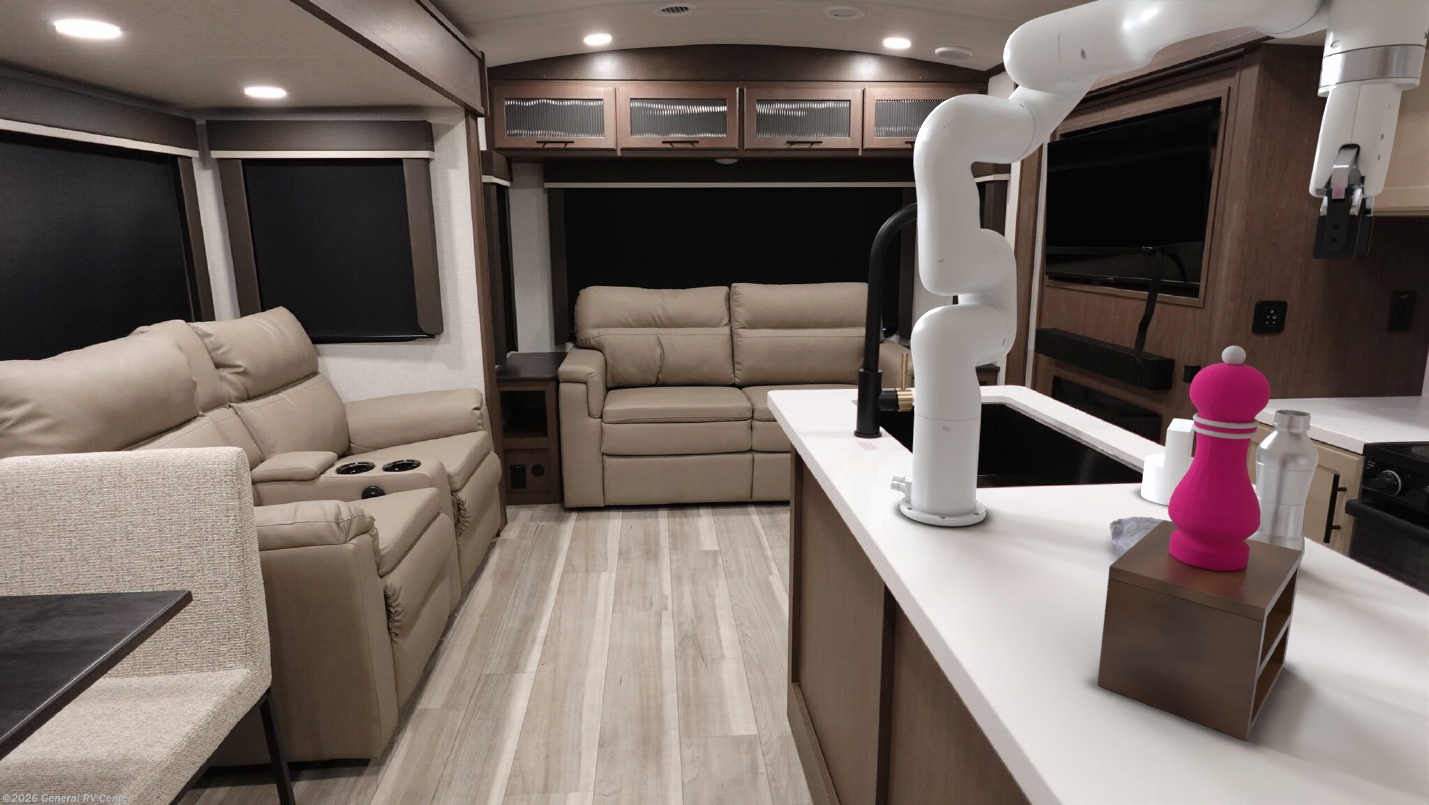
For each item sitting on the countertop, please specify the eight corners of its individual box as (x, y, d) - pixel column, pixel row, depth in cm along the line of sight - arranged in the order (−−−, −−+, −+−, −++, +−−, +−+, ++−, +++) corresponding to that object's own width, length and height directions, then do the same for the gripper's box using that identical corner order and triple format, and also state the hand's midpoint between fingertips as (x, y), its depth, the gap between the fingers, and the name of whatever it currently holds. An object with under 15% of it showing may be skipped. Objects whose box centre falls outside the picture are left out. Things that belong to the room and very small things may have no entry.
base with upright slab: (1145, 485, 131) (1153, 415, 128) (1208, 495, 126) (1217, 422, 123) (1137, 500, 124) (1144, 427, 121) (1203, 511, 119) (1213, 435, 116)
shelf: (1097, 685, 74) (1109, 566, 72) (1151, 625, 85) (1163, 519, 83) (1245, 741, 66) (1265, 608, 63) (1284, 666, 77) (1302, 550, 74)
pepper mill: (1255, 581, 68) (1288, 354, 64) (1160, 563, 72) (1186, 348, 68) (1252, 552, 74) (1282, 343, 70) (1165, 537, 78) (1188, 338, 74)
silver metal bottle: (1235, 566, 99) (1256, 414, 95) (1245, 550, 104) (1266, 404, 100) (1297, 581, 95) (1322, 422, 91) (1305, 564, 100) (1329, 412, 96)
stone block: (1127, 584, 99) (1215, 575, 96) (1122, 548, 98) (1210, 538, 96) (1102, 550, 110) (1180, 541, 108) (1097, 518, 109) (1175, 508, 107)
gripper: (1334, 90, 83) (1310, 254, 87) (1304, 68, 71) (1277, 259, 75) (1428, 80, 78) (1398, 255, 81) (1413, 55, 66) (1378, 261, 70)
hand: (1340, 257), depth 78 cm, fingers open, 9 cm apart
